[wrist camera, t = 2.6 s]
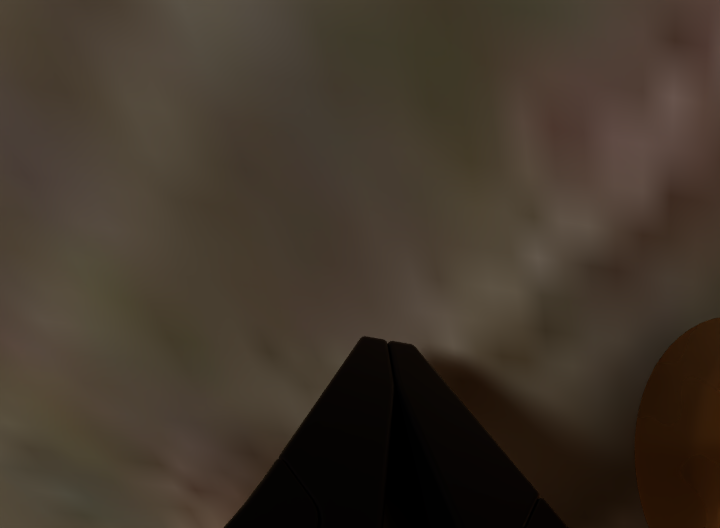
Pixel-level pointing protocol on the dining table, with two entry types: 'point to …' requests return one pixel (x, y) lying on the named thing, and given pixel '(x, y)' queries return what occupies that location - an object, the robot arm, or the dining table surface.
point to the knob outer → (682, 434)
